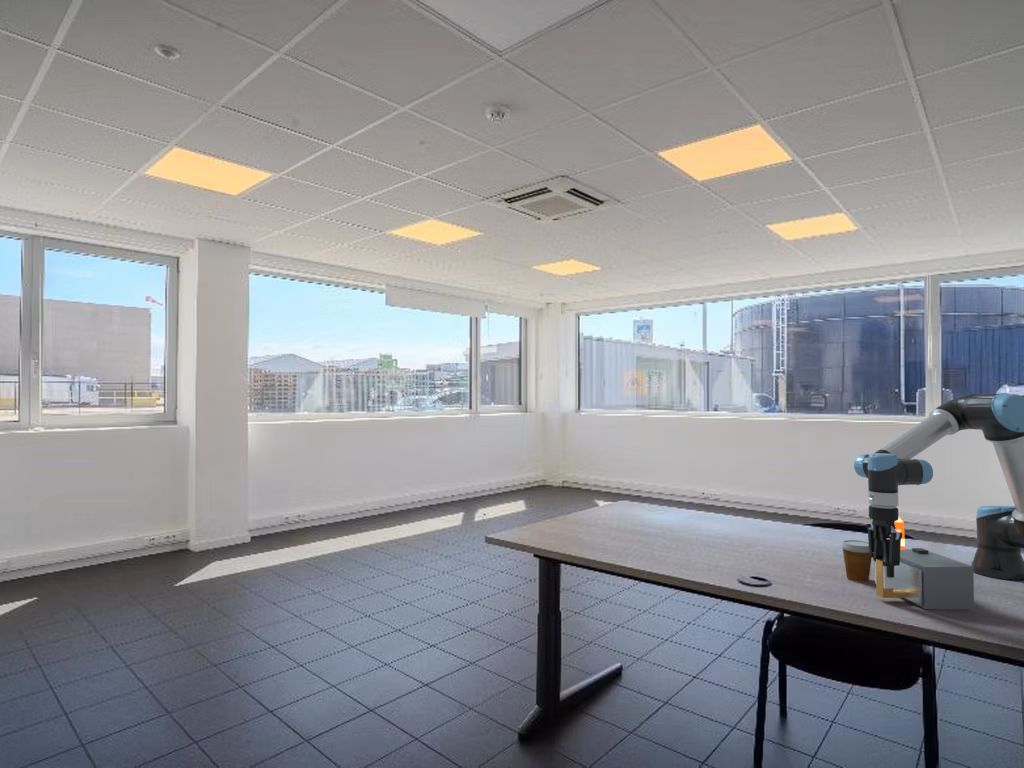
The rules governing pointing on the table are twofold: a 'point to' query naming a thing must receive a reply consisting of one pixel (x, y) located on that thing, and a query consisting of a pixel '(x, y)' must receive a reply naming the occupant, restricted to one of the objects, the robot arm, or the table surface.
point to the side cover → (901, 582)
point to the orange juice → (900, 528)
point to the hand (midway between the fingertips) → (884, 585)
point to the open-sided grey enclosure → (942, 580)
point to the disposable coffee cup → (857, 560)
